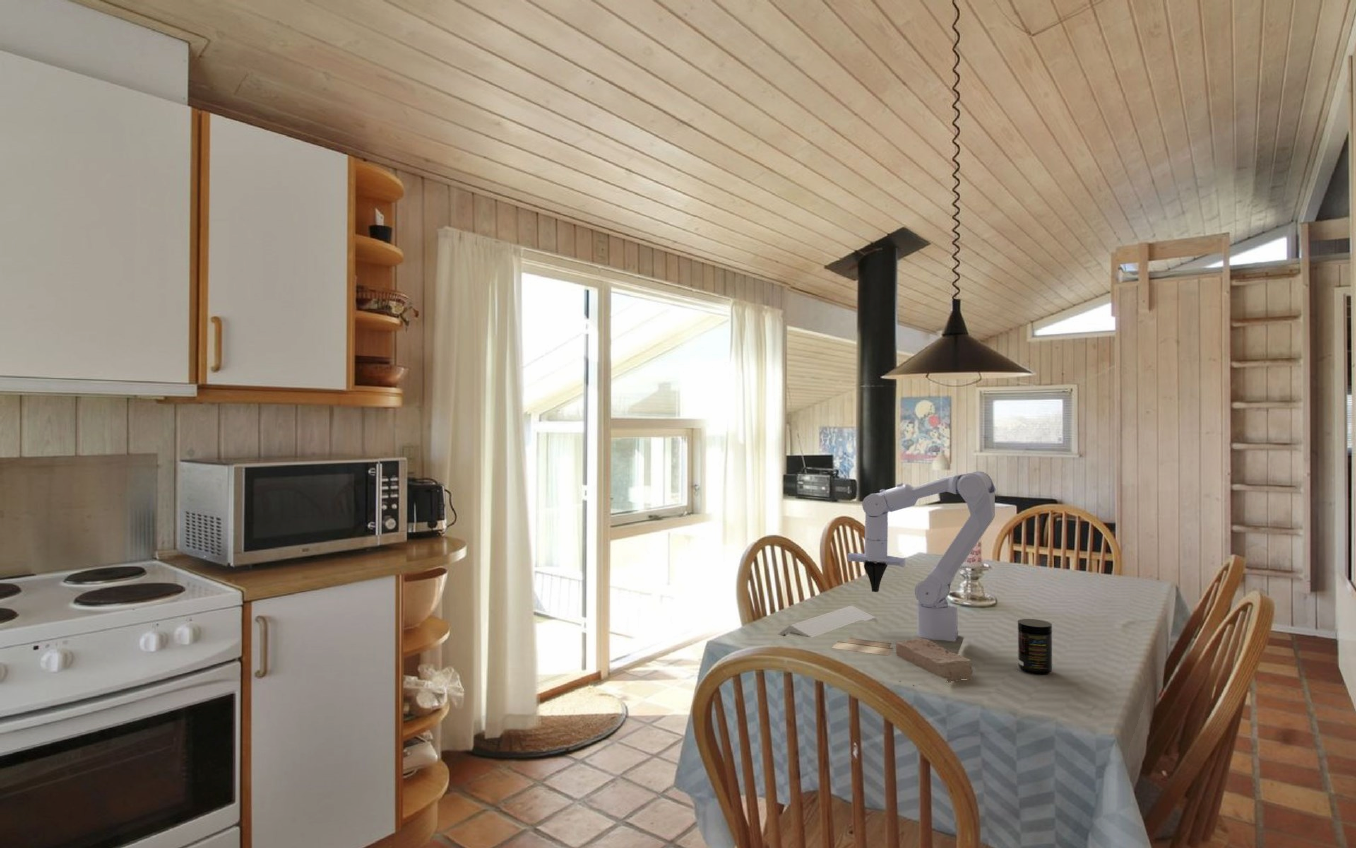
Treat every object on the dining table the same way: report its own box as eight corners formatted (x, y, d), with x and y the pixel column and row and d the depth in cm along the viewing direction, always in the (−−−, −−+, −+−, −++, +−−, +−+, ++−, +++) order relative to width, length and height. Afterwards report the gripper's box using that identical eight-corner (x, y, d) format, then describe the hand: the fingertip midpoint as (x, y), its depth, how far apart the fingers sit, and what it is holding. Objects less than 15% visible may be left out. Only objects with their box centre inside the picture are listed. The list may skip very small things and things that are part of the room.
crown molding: (817, 645, 178) (817, 631, 178) (777, 636, 186) (777, 622, 186) (877, 623, 198) (877, 610, 198) (838, 615, 207) (838, 603, 207)
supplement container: (1059, 675, 154) (1058, 626, 154) (1029, 676, 153) (1028, 627, 154) (1040, 665, 161) (1040, 618, 161) (1011, 666, 160) (1011, 619, 160)
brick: (975, 680, 152) (974, 658, 152) (942, 684, 150) (941, 662, 150) (924, 657, 168) (924, 637, 168) (894, 661, 165) (893, 640, 165)
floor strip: (892, 653, 170) (892, 647, 170) (887, 660, 164) (887, 654, 164) (838, 646, 175) (837, 640, 175) (831, 653, 170) (831, 647, 170)
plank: (894, 645, 177) (894, 639, 177) (888, 652, 170) (888, 647, 170) (853, 639, 181) (853, 634, 181) (846, 647, 175) (846, 641, 175)
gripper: (907, 539, 189) (906, 591, 189) (852, 534, 195) (851, 584, 195) (902, 543, 182) (901, 597, 183) (845, 538, 189) (844, 590, 189)
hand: (875, 591), depth 189 cm, fingers closed
